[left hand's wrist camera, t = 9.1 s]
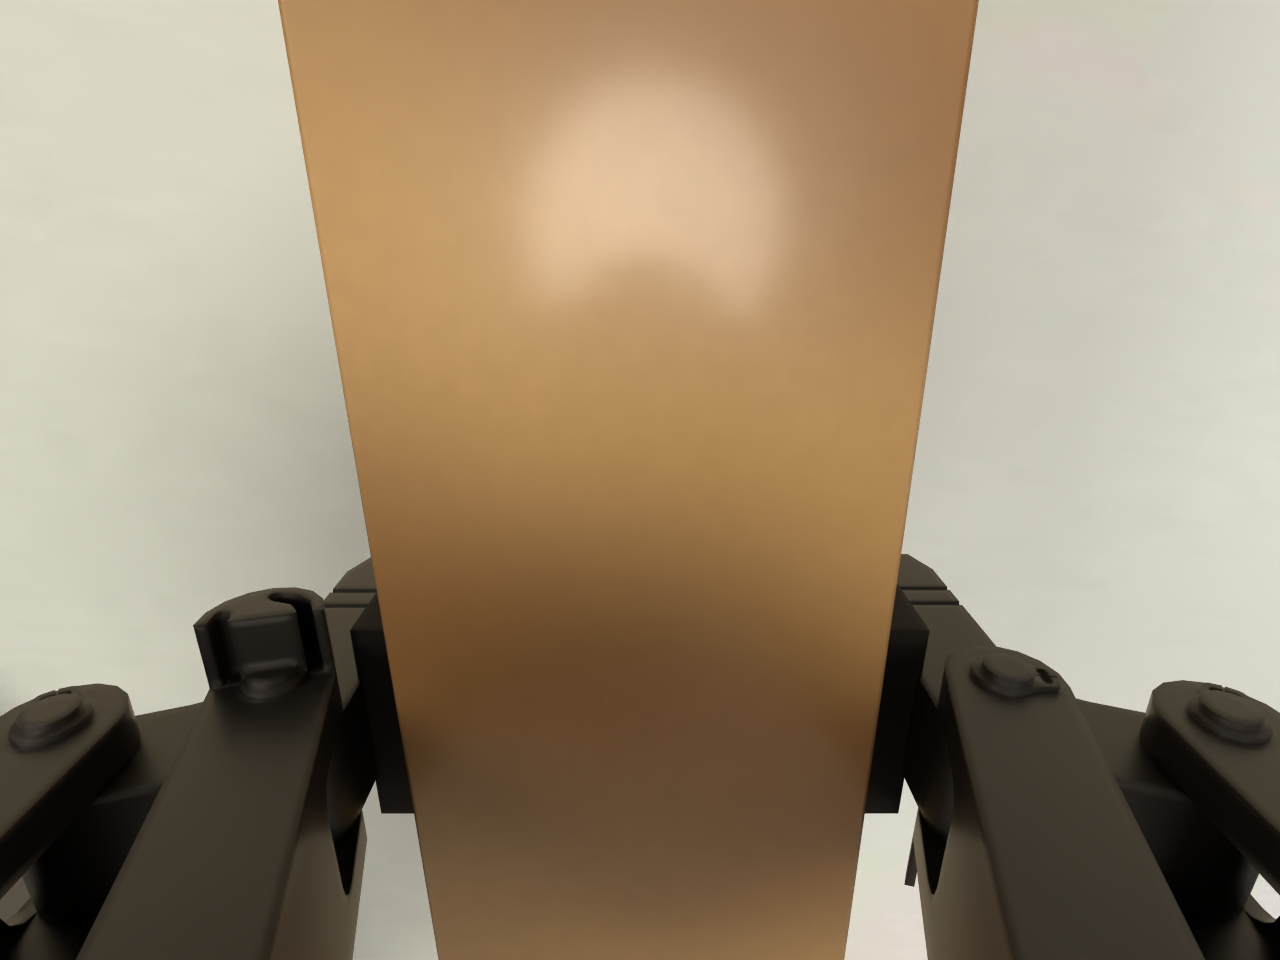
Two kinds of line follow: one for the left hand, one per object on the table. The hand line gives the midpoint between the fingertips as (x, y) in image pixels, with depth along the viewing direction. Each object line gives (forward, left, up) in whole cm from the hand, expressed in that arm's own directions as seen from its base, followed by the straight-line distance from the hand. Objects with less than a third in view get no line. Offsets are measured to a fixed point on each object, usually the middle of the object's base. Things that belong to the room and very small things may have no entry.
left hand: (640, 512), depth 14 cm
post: (+15, +26, -1) cm, 30 cm away
